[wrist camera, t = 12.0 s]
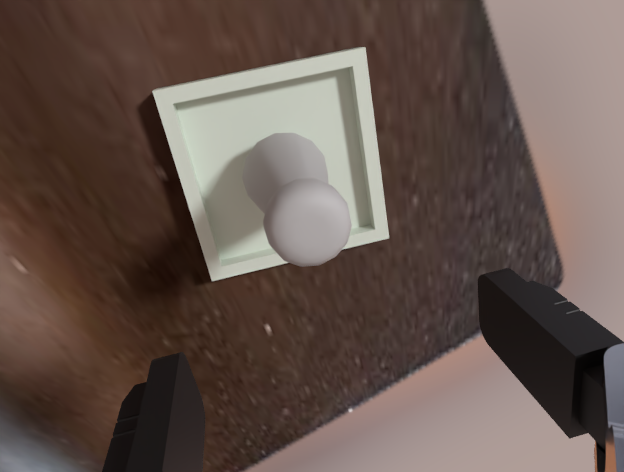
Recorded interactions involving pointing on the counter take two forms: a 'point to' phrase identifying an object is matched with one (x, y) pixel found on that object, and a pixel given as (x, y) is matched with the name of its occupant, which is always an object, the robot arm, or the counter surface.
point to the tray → (258, 125)
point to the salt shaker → (296, 199)
